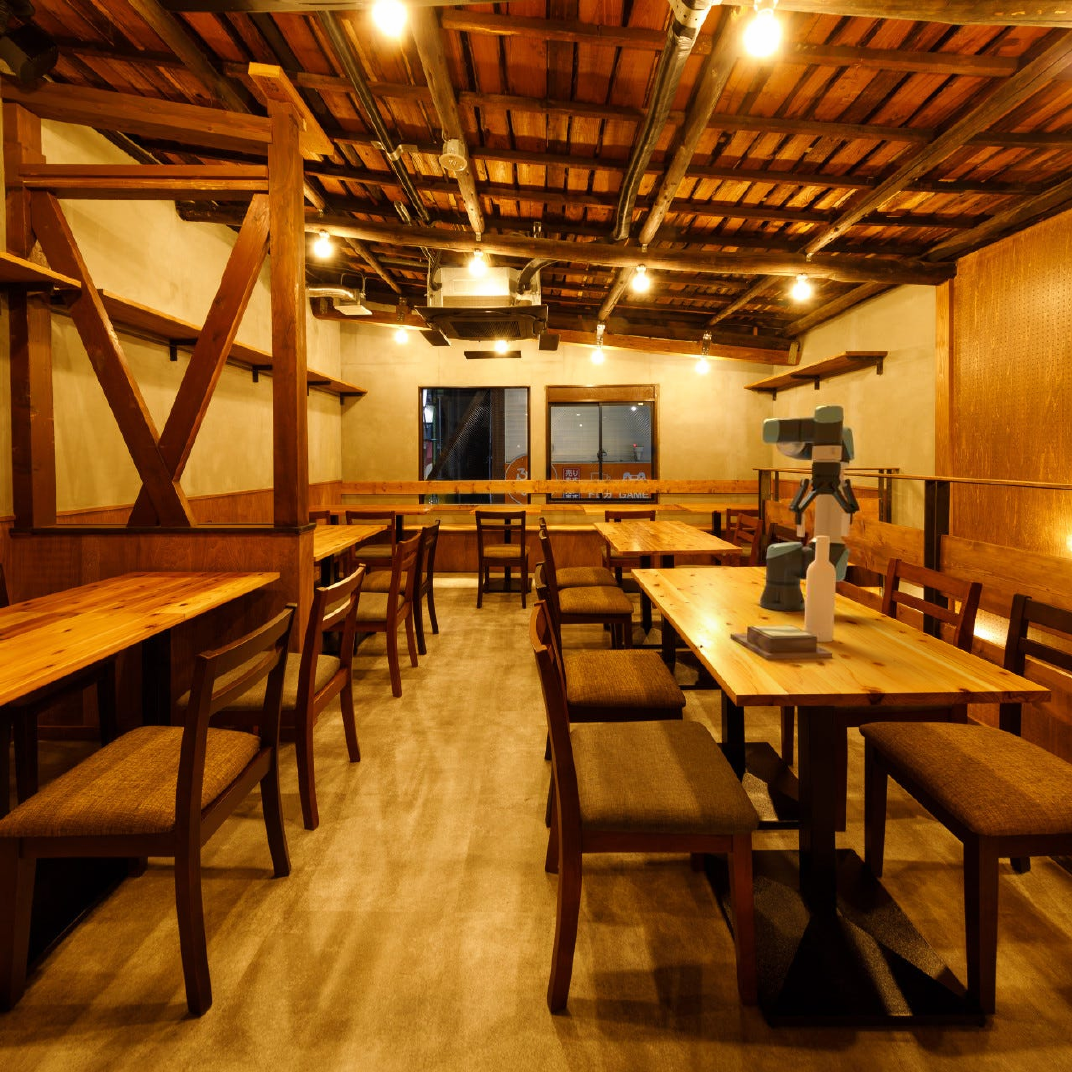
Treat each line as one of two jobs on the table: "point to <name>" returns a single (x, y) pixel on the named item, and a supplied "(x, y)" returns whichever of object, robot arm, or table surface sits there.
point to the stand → (781, 642)
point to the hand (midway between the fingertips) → (822, 536)
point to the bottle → (820, 593)
